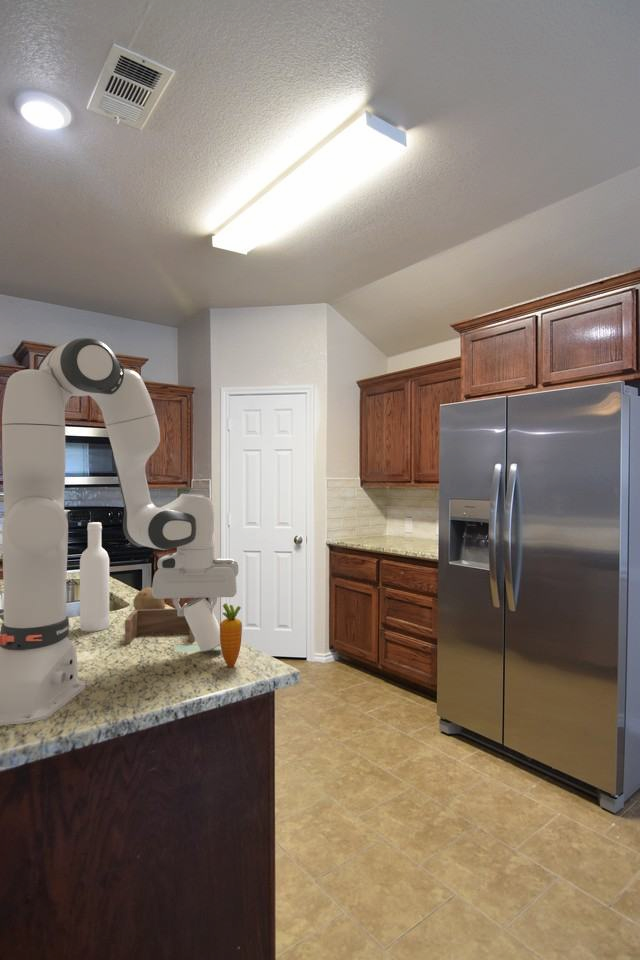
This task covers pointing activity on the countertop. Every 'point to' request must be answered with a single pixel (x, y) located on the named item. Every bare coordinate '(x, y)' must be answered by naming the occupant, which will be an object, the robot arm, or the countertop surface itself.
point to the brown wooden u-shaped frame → (155, 623)
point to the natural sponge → (147, 600)
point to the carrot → (230, 635)
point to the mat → (191, 648)
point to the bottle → (94, 583)
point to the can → (202, 623)
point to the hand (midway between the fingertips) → (195, 615)
